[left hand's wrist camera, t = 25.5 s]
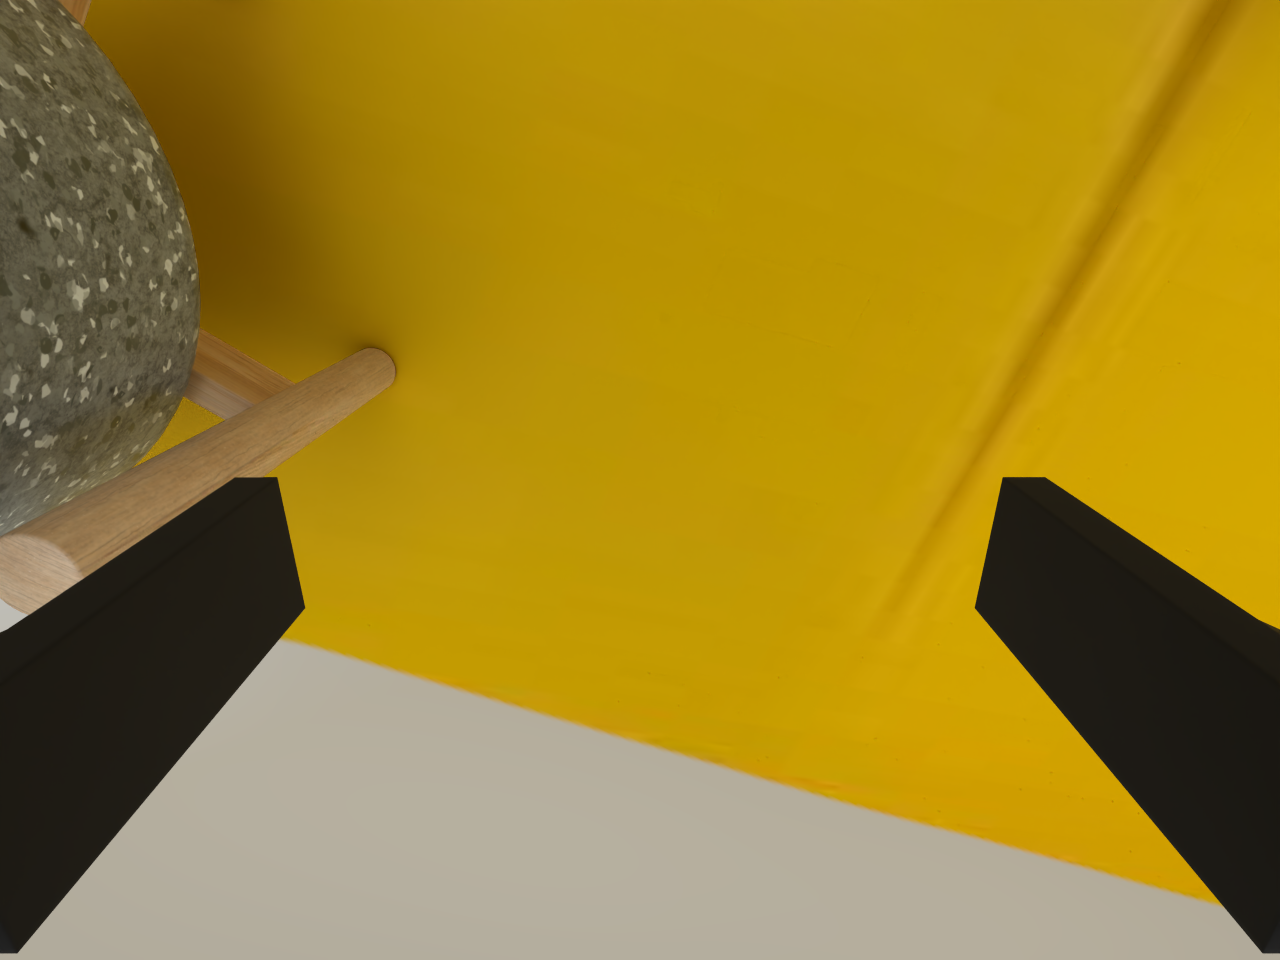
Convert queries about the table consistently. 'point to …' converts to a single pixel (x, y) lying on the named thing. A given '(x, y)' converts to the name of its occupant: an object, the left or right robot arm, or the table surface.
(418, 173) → the table surface
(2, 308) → the planter
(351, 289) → the table surface
